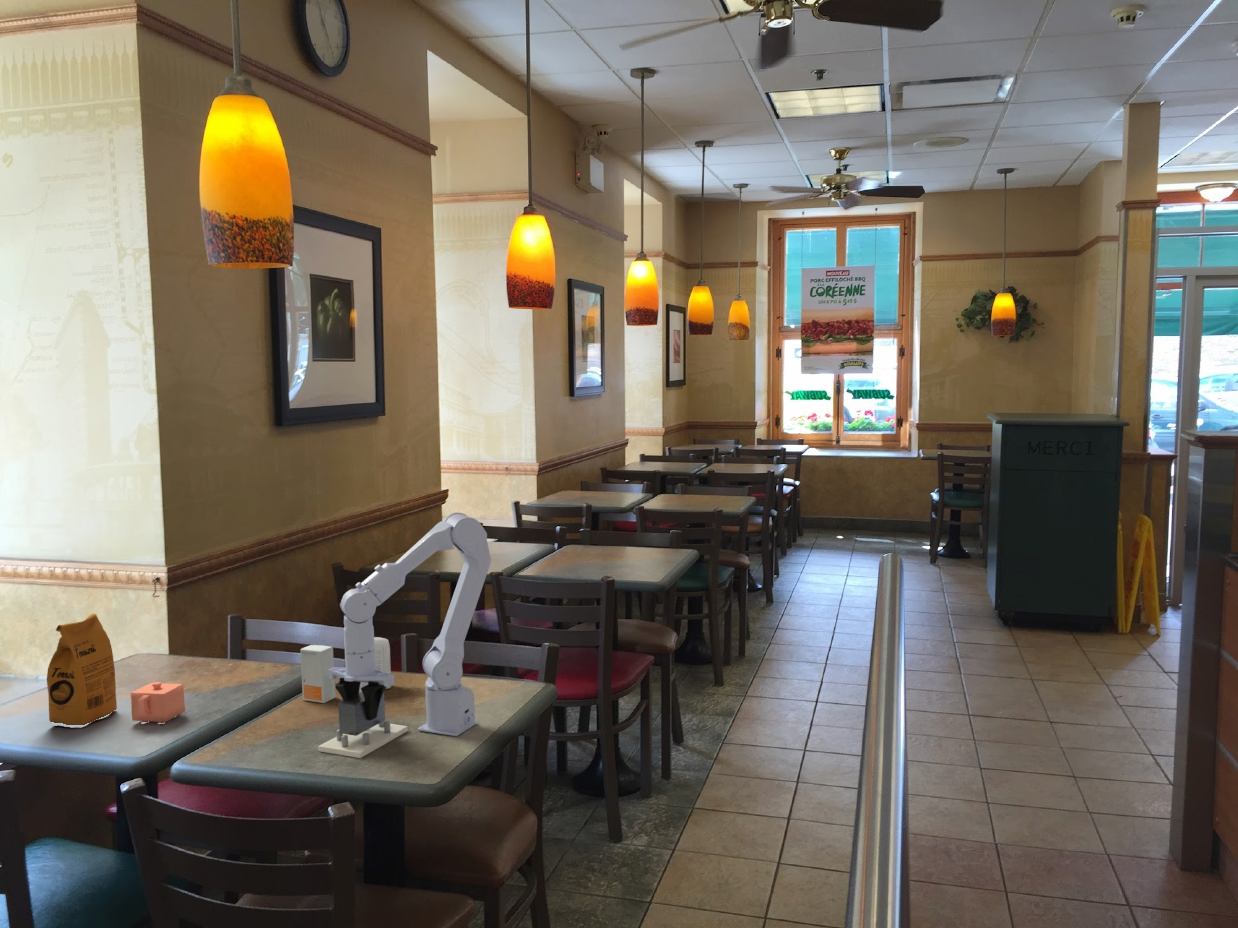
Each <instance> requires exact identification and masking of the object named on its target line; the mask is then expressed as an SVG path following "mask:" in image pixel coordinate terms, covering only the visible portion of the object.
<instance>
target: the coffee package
mask: <svg viewBox="0 0 1238 928" xmlns="http://www.w3.org/2000/svg"><path fill="white" fill-rule="evenodd" d="M55 631H56V632H59V634H60V635H61V637H60V638H59V639H58V642H57V646H56V650H55V651H54V654H53V655H52V657H51V660H50V662H49V664H48V667H47V673H46V685H47V693H48V694H47V695H48V720H49V722H50V723H51V722H54V723H63V724H66V725H85V724H87V723H90V722H92V721H94V720H96V719H99V718H101V717H104V716H106V715H108V714H110V713H111V712H113V711H114V710H116V709H117V710H118V705H117V694H116V693H117V692H116V691H117V690H116V688H117V687H116V685H117V684H116V670H115V669H116V668H115V664H114V663H115V661H114V660H115V659H114V654H113V648H112V643H111V640H110V639H109V636H108V634H107V632H106V630H105V629H104V627H103V625H102V622H101V621H100V620H99V617H98V616H97V613H92V614H90V615H88V616H87V617H86V619H84V620H83V621H78V622H77V621H76V622H70V623H64V624H58V625H57V626H56V629H55ZM113 713H114V712H113ZM94 722H95V721H94ZM92 723H93V722H92Z"/></svg>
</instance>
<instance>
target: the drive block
mask: <svg viewBox="0 0 1238 928" xmlns="http://www.w3.org/2000/svg"><path fill="white" fill-rule="evenodd" d="M337 703H338V704H337V705H338V707H337V708H338V723H339V724H338V726H339V728H338V729H340V733H342V734H348V735H354V736H357V735H359V734H361V733H362V732H364V731H366V730H368V729H370V728H372V727H374V726H375V725H377V724H379V723H381V722H383V721H385V722H386V713H385V711H386V709H385V708H386V707H385V692H384V693H383V695H382V697H381V700H380V704H379V708H378V713H377V717H376V718H374V719H373V720H368V719H367V714H366V703H365V699H364V695H363V693H362V692H361V693H359V694H357V695H355V696H352V697H350V698H348V699H346V700H344V701H343V700H342V701H340V702H337Z"/></svg>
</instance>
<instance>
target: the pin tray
mask: <svg viewBox="0 0 1238 928" xmlns="http://www.w3.org/2000/svg"><path fill="white" fill-rule="evenodd" d="M335 731H336V736H335V737H333V738H331V739H329V740H327V741H326V742H324V743H321V744H320V745H318V746H317V747H318V748H317V749H318V750H317V751H318V752H321V753H328V754H333V755H338V756H346V757H350V758H357V759H362V758H364V756H365V757H366V755H368V754H370V753H371V752H374V751H375V750H377V749H379V748H380V747H382V746H384V745H386V744H388V743H389V742H391V741H393V740H395V739H396V738H399V737H400V736H401V735H403V734H404V733H407V732H408V726H407V725H402V724H397V723H396V724H395V723H391V722H390V721H386V720H385V721H383V722H381V723H379V724H377V725H375V726H374V727H372V728H370V729H368V730H366V731H364V732H362V733H361V734H359V735H357V736H354V735H348V734H342V733H340V728H337V729H336V730H335Z"/></svg>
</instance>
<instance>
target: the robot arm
mask: <svg viewBox="0 0 1238 928" xmlns="http://www.w3.org/2000/svg"><path fill="white" fill-rule="evenodd" d="M455 548H456V549H457V551H458V554H459V555H460V557H461V559H462V560H463V565H462V569H461V570H460V574H459V577H458V580H457V583H456V587H455V589H454V592H453V595H452V598H451V601H450V604H449V606H448V609H447V612H446V615H445V618H444V621H443V625H442V628H441V630H440V633H439V635H438V636H437V637H436V638H435V639H434V640H433V643H432V646H431V648H430V649H429V650H428V651H427V652H426V653H425V655H424V656H423V659H422V669H423V671H424V673H425V674H426V675H427V678H426V681H425V683H424V687H425V690H424V691H425V710H426V711H425V713H426V716H425V717H426V723H424V724H422V725H420V726H419V727H418V728H417V731H419V732H420V731H421V732H426V733H433V734H439V735H446V736H452V737H458V736H459V735H461V734H462V733H464V732H466V731H467V730H468V729H470V728H472V727H474V726H475V725H477V723H478V721H477V720H476V714H475V713H476V711H475V695H474V692H473V690H472V689H471V687H466V686H465V685H463V683H462V678H463V675H464V673H463V671H464V670H463V661H464V658H465V647H464V646H465V645H464V643H465V639H466V637H467V634H468V631H469V628H470V625H471V622H472V619H473V616H474V614H475V610H476V608H477V604H478V601H479V598H480V595H481V592H482V589H483V586H484V584H485V581H486V578H487V575H488V572H489V569H490V567H491V561H492V558H491V554H490V550H489V549H490V548H489V544H488V533H487V532H486V529H485V528H484V527H483V525H482V524H481V522H480V521H479V520H477V519H476V518H474V517H470V516H468V515H466V514H465V513H463V512H452V513H451V514H449V515H448V516H446V518H445V519H444V520H441V521H439V522H438V523H437V524H435V525H434V526H433V527H432V528H431V529H430V530H429V531H428V532H427V533H426V534H425V535H424V536H422V538H420V539H419V540H417V542H416V543H415V544H414V545H413V546H412V547H411V548H409V549H408V550H407V551H406V552H405V553H404V554H403V555H402V556H401V557H400V558H398V559H397V560H396V561H395V562H385V563H384V564H382V565H381V564H377V565H376V566H375V567H374V568H373V569H374V570H375V571H374V572H372V573H371V574H370V575H369V576H367V578H365V579H364V580H363V581H362V582H360V581H359V582H357V583H356V584H355V587H356V588H351V589H349V590H348V591H346V592H345V593H344V594H343V596H342V598H341V601H340V603H339V607H340V609H341V611H342V612H343V614H344V615H343V625H344V627H343V640H344V641H343V643H344V646H343V647H344V664H345V665H344V666H345V667H338V666H334V668H331V669H329V670H328V671H329V679H334V680H335V679H336V680H339V681H338V683H336V684H335V690H336V691H337V692H338V693H339V696H341V699H342V701H344V700H346V699H348V698H350V697H352V696H355V695H357V694H359V689H360V683H361V682H366V683H368V685H366V686H364V687H362V688H361V690H362V693H363V695H364V699H365V703H366V714H367V719H368V720H373V719H374V718H376V717H377V713H378V708H379V704H380V700H381V697H382V695H383V693H384V694H385V690H387V689H386V687H389V686H391V687H392V686H393V685H395V674H394V673H393V674H392V673H391V674H389V673H385V672H383V671H380V670H377V669H375V647H374V637H375V630H374V625H373V618H374V617H373V616H374V615H375V614H376V609H377V607H378V606H380V605H382V604H383V603H384V602H385V601H386V600H388V599H389V598H390V597H391V596H392V595H393V594H395V593H396V592H398V590H400V588H402V587H403V586H404V585H405V583H406V582H405V581H406V576H407V575H408V574H409V573H411V572H412V571H413V570H414V569H416V568H417V567H418V566H420V565H421V564H422V563H424V562H425V561H427V559H429V558H430V557H432V555H434V554H435V553H436V552H440V551H445V550H446V551H450V550H455Z"/></svg>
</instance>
